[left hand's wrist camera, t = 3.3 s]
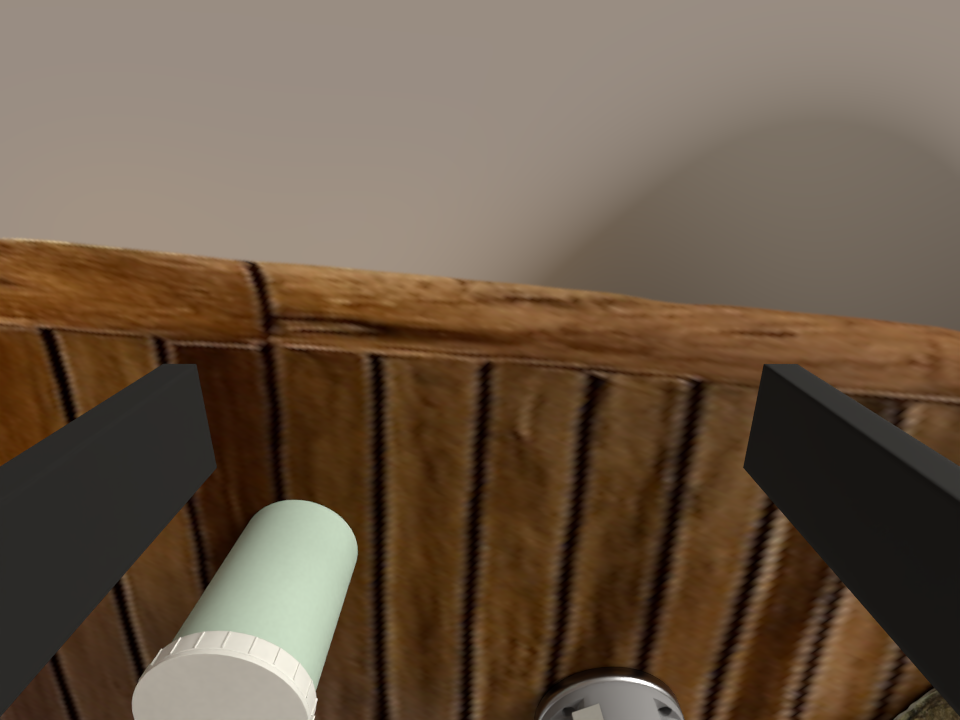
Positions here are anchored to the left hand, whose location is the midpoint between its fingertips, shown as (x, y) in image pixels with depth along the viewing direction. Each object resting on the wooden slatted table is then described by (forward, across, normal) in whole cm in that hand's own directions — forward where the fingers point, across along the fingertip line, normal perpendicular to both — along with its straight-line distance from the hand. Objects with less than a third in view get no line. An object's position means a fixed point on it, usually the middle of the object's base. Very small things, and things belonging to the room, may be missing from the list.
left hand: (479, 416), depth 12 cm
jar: (+28, +16, +27) cm, 42 cm away
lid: (+12, +16, +27) cm, 34 cm away
